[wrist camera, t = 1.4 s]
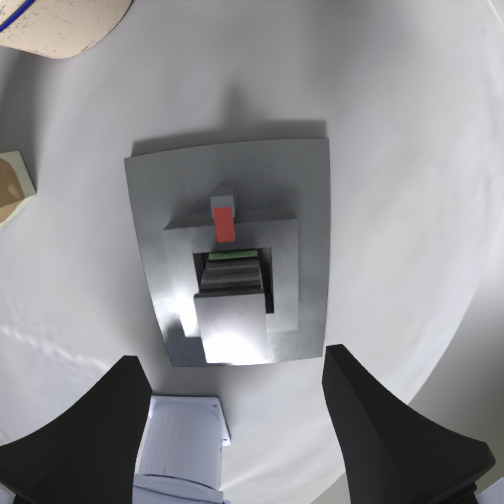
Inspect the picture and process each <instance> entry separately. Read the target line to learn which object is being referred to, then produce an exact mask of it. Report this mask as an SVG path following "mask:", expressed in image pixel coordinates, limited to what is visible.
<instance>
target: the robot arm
mask: <svg viewBox="0 0 504 504" xmlns="http://www.w3.org/2000/svg"><path fill="white" fill-rule="evenodd" d="M322 385H323V391H324V396H325V400H326V405H327V408H328V411H329V414H330V417H331V420H332V423H333V426H334V429H335V432H336V435H337V438H338V441H339V444H340V447H341V451H342V454H343V458H344V463H345V468H346V474H347V480H348V486H349V492H350V500H351V504H504V477H502V478H501V479H499V480H498V481H497V482H495V483H494V484H493V485H492V486H490V487H489V488H487V489H486V490H484V491H483V492H481V493H480V494H478V495H477V496H475V495H474V491H475V490H476V489H477V487H476V484H475V481H476V480H478V479H479V478H480V477H481V476H483V475H484V474H485V473H486V472H488V471H489V470H490V469H491V468H492V467H493V466H494V465H495V462H496V460H495V458H494V456H493V454H492V452H491V450H490V448H489V447H488V445H487V444H486V443H485V442H482V441H478V440H475V439H472V438H469V437H466V436H463V435H460V434H458V433H455V432H453V431H451V430H448V429H446V428H444V427H442V426H440V425H438V424H436V423H435V422H433V421H431V420H429V419H427V418H426V417H424V416H422V415H421V414H419V413H418V412H416V411H414V410H413V409H412V408H410V407H409V406H407V405H406V404H405V403H403V402H402V401H401V400H399V399H398V398H397V397H396V396H394V395H393V394H392V393H391V392H390V391H389V390H387V389H386V388H385V387H384V386H383V385H382V384H381V383H380V382H379V381H377V380H376V379H375V378H374V377H373V376H372V375H371V374H370V373H369V372H368V371H367V370H366V369H365V368H364V367H363V366H362V365H361V364H360V363H359V361H358V360H357V359H356V358H355V357H354V356H353V355H352V354H351V353H350V352H349V351H348V350H347V348H346V347H345V346H344V345H343V344H338V345H331V346H326V353H325V362H324V369H323V377H322ZM148 415H149V417H150V418H151V421H150V425H149V429H148V433H147V437H146V441H145V445H144V449H143V453H142V457H141V462H140V466H139V470H138V474H135V477H134V471H135V463H136V458H137V454H138V450H139V446H140V442H141V439H142V435H143V432H144V428H145V424H146V421H147V417H148ZM230 444H231V440H230V437H229V433H228V430H227V426H226V423H225V419H224V416H223V412H222V408H221V404H220V401H219V399H218V398H216V397H172V396H153V395H152V388H151V386H150V384H149V382H148V380H147V377H146V375H145V373H144V371H143V368H142V366H141V364H140V361H139V359H138V357H137V356H127V355H124V356H123V357H122V358H121V359H120V360H119V361H118V362H117V363H116V364H115V365H114V366H113V367H112V368H111V369H110V370H109V371H108V372H107V373H106V374H105V375H104V376H103V377H102V378H101V379H100V380H99V381H98V382H97V383H96V384H95V385H94V386H93V387H92V388H91V389H90V390H89V391H88V392H87V393H86V394H85V395H83V396H82V397H81V398H80V399H79V400H78V401H77V402H76V403H75V404H74V405H72V406H71V407H70V408H69V409H68V410H66V411H65V412H64V413H63V414H61V415H60V416H59V417H57V418H56V419H54V420H53V421H51V422H50V423H48V424H47V425H45V426H43V427H42V428H40V429H39V430H37V431H35V432H33V433H31V434H29V435H28V436H25V437H23V438H21V439H19V440H17V441H14V442H11V443H9V444H6V445H3V446H0V483H2V484H3V485H4V486H5V487H7V488H8V489H9V490H11V491H12V492H14V493H15V494H16V496H15V498H13V497H12V496H10V495H9V494H7V493H6V492H4V491H3V490H1V489H0V504H231V503H230V502H229V501H228V500H223V492H222V491H218V490H219V488H220V484H221V461H222V446H225V445H230ZM133 480H134V481H133Z"/></svg>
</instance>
